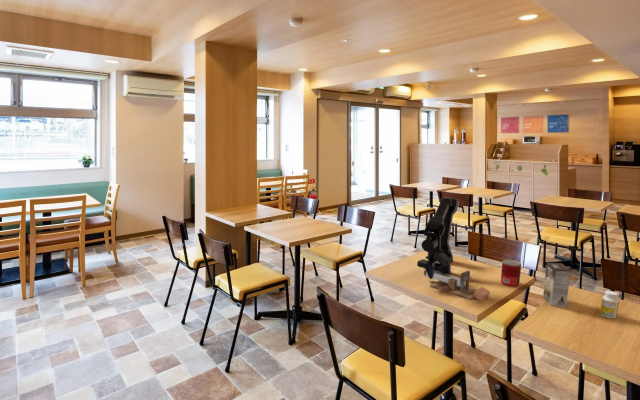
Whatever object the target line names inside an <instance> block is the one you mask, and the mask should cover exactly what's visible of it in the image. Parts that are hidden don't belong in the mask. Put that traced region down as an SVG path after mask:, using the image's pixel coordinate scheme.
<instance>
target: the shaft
mask: <svg viewBox="0 0 640 400" xmlns="http://www.w3.org/2000/svg"><path fill="white" fill-rule="evenodd" d="M423 276H425V277H427V278H429V276H428V274H427V272H426V270H425V269H424V271H423ZM432 279H434V280H436V281H442V282H445V283H448V279H451V280H454V281H455V286H458V287H460V279H461V277H458V276H455V275H451V274H450V273H448V274H445V273H442V272H438V271H435V270H433V276H432Z"/></svg>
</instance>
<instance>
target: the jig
mask: <svg viewBox="0 0 640 400" xmlns="http://www.w3.org/2000/svg"><path fill="white" fill-rule="evenodd" d="M470 273H471V271H470V270H466V271H464V272H462V273H460V278H461V279H460V287H458V286H455V281H454V280H451V279H448V283H445V282H442V281H439V280H437V281H436V282H433V283H431V284H429V287H430V288H432V289H435V290H438V291H441V292H444V293H447V294H449V295H453V296H456V297H458V298H462V299H464V300H468V301H471V300H473V299H475V298H476V297H474V296H473V295H474V292H475V290H477V289H478V288H476V287H473V286H470V277H471V276H470V275H471V274H470Z"/></svg>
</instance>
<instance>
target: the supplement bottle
mask: <svg viewBox="0 0 640 400" xmlns="http://www.w3.org/2000/svg"><path fill="white" fill-rule="evenodd" d="M618 297H619V293H618V292H615V291H612V290H605V292H604V295H603V296H602V299H601V304H600V305H601V306H600V315H601V316H602V317H604V318H608V319H616V318H617V317H618V312H619V307H620V306H619V304H620V299H618Z"/></svg>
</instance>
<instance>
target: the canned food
mask: <svg viewBox="0 0 640 400" xmlns="http://www.w3.org/2000/svg"><path fill="white" fill-rule="evenodd" d="M501 263H502V264H501V275H500V283H501V284H502V285H503V286H506V287H510V288H516V287H519V286H520V280H521V269H522V263H521V261H518V260H514V259H503V260H502V262H501Z"/></svg>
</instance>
